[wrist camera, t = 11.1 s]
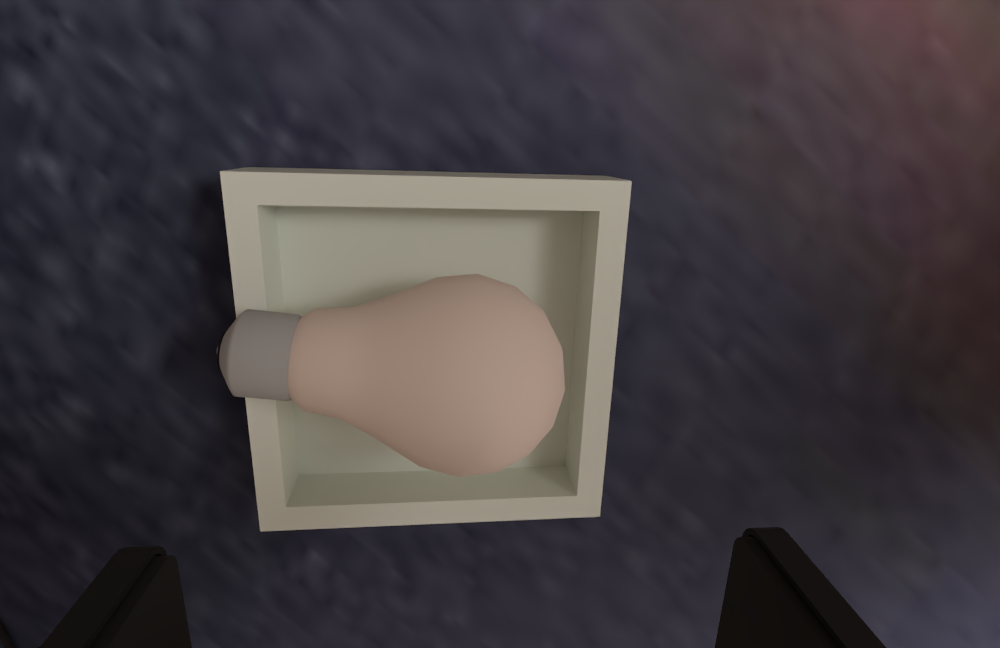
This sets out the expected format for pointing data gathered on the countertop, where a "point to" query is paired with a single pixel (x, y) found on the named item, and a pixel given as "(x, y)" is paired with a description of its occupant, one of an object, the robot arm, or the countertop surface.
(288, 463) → the tray
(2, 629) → the multimeter
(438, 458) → the light bulb
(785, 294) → the countertop surface
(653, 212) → the countertop surface
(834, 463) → the countertop surface
